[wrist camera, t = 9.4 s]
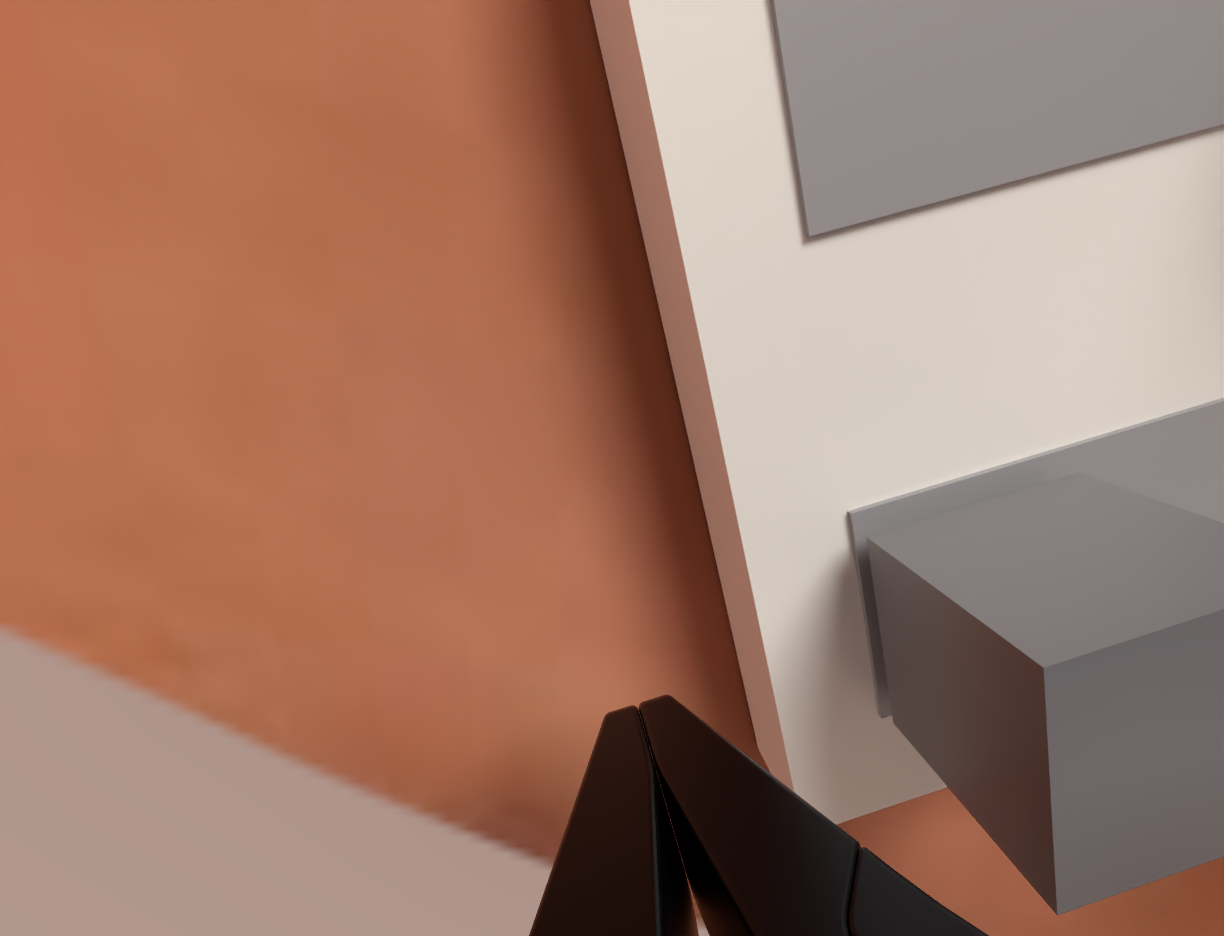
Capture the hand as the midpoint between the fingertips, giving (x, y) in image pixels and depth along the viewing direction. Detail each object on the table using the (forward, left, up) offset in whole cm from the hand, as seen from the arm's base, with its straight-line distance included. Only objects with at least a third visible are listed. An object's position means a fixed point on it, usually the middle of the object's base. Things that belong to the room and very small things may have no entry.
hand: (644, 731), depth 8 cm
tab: (-5, 0, 0) cm, 5 cm away
